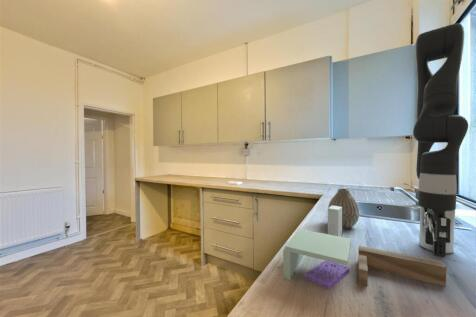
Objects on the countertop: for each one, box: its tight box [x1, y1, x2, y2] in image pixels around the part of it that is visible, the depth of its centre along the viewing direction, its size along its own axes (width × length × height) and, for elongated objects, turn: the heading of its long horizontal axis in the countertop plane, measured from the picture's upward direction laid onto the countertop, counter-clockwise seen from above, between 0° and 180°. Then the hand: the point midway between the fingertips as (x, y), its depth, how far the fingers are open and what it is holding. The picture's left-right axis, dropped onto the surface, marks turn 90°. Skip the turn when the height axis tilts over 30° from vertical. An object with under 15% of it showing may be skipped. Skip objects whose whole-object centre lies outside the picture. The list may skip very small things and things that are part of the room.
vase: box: [327, 188, 360, 230], centre depth 99 cm, size 13×13×18 cm
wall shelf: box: [282, 228, 352, 280], centre depth 62 cm, size 15×16×9 cm
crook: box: [357, 245, 448, 287], centre depth 58 cm, size 14×20×5 cm
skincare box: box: [327, 205, 343, 237], centre depth 89 cm, size 6×4×12 cm
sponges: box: [304, 260, 351, 290], centre depth 61 cm, size 7×13×2 cm, turn 131°
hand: (434, 249), depth 58 cm, fingers open, 8 cm apart
